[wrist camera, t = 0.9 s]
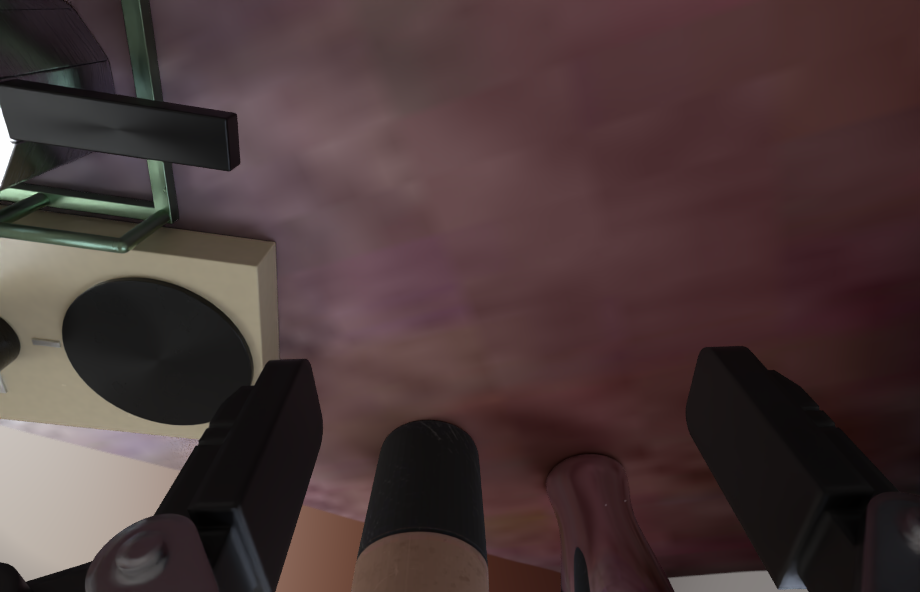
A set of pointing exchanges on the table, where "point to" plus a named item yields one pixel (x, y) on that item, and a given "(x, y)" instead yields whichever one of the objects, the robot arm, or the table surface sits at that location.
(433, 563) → the travel mug
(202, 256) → the plate
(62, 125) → the saucepan
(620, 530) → the beer glass
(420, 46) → the table surface
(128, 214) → the dish rack
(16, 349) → the dial
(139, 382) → the burner
